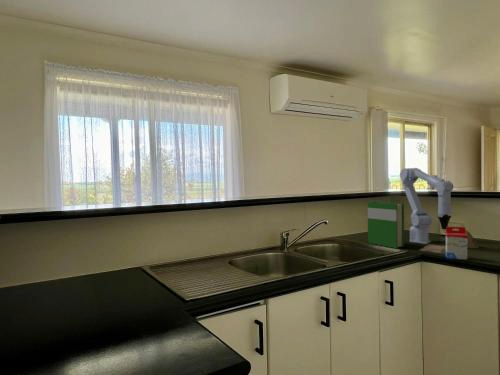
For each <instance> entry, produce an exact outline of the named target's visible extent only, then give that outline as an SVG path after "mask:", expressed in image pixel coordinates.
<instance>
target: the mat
mask: <svg viewBox="0 0 500 375" xmlns="http://www.w3.org/2000/svg"><path fill="white" fill-rule="evenodd" d="M424 247H425V246H423V247H422V248H420V249H419V250H418V251H422V252H430V253H439V254H445V253H446V250H444V251H442V252H435V251H427V250H424Z"/></svg>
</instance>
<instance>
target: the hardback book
mask: <svg viewBox="0 0 500 375" xmlns="http://www.w3.org/2000/svg"><path fill="white" fill-rule="evenodd" d="M368 242H369V243H373V244H378V245H383V246H388V247H393V248H392V249H396V248H397V249H398V248H399V247H402V248H403V247H405V203H403V202H390V201H389V202H387V201H369V202H368V201H367V243H368Z"/></svg>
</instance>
